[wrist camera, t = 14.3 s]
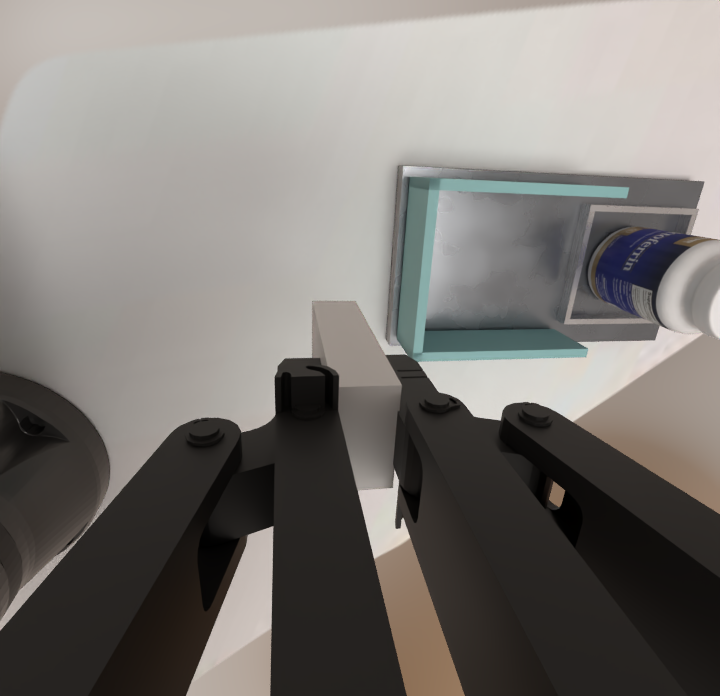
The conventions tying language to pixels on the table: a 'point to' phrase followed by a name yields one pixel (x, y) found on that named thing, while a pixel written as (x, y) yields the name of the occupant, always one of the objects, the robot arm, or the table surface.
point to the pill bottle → (660, 278)
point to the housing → (419, 271)
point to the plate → (531, 252)
